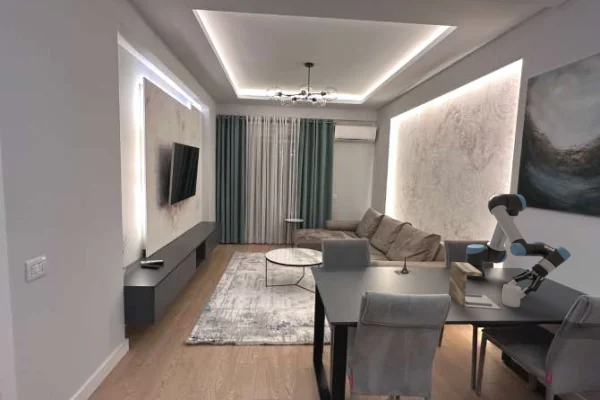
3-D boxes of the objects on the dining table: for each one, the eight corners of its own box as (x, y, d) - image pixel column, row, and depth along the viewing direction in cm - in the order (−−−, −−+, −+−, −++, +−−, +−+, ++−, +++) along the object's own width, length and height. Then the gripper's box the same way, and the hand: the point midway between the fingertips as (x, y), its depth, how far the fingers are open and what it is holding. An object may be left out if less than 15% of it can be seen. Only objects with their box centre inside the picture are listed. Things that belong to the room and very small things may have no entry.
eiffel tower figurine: (409, 270, 248) (410, 253, 247) (417, 274, 238) (418, 257, 237) (392, 271, 244) (392, 254, 243) (398, 275, 235) (399, 257, 233)
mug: (508, 299, 192) (510, 282, 191) (523, 307, 180) (525, 289, 179) (494, 299, 192) (496, 281, 191) (508, 307, 180) (510, 289, 179)
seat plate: (484, 295, 197) (484, 293, 197) (500, 309, 177) (500, 306, 177) (453, 293, 199) (454, 291, 199) (466, 306, 180) (466, 304, 179)
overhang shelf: (465, 294, 198) (468, 262, 197) (479, 307, 179) (482, 272, 177) (448, 293, 200) (450, 261, 198) (460, 306, 180) (463, 271, 178)
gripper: (562, 280, 169) (530, 305, 172) (534, 267, 194) (506, 289, 197) (552, 269, 169) (520, 295, 172) (525, 257, 194) (497, 280, 197)
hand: (512, 292), depth 185 cm, fingers open, 13 cm apart
